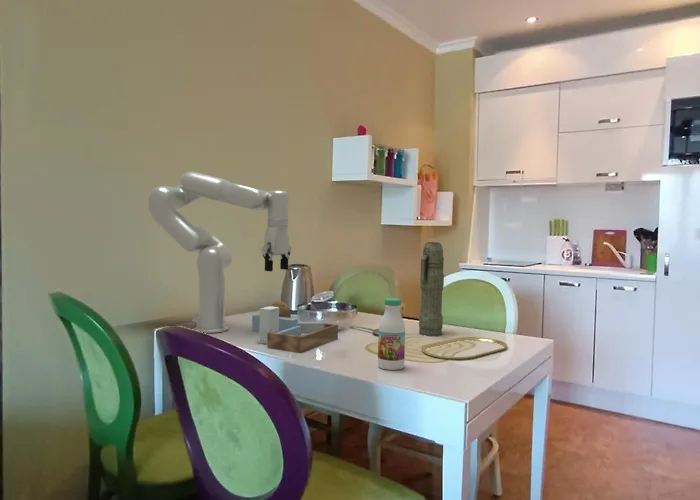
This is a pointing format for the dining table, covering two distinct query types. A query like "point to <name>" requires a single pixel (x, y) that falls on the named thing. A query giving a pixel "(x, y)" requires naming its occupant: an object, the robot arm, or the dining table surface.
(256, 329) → the crook
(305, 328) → the grey plastic stick
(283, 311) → the natural sponge
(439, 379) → the dining table surface
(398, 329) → the milk bottle
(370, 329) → the soupspoon
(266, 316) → the skincare box
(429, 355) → the serving platter
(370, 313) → the dining table surface
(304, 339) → the wooden u-shaped tray
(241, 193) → the robot arm
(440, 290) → the thermos
